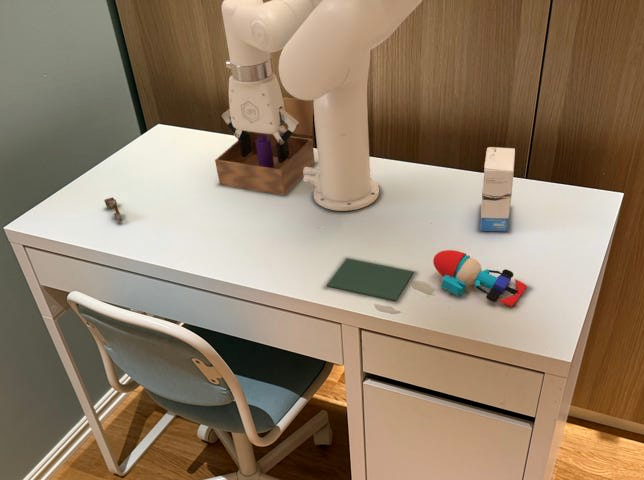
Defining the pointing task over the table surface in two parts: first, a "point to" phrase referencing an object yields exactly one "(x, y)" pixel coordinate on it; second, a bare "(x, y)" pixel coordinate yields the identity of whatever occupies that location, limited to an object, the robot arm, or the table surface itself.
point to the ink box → (497, 189)
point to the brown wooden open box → (265, 179)
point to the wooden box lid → (300, 114)
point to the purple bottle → (264, 151)
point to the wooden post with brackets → (111, 203)
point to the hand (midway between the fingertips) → (265, 156)
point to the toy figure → (474, 277)
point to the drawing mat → (370, 279)
